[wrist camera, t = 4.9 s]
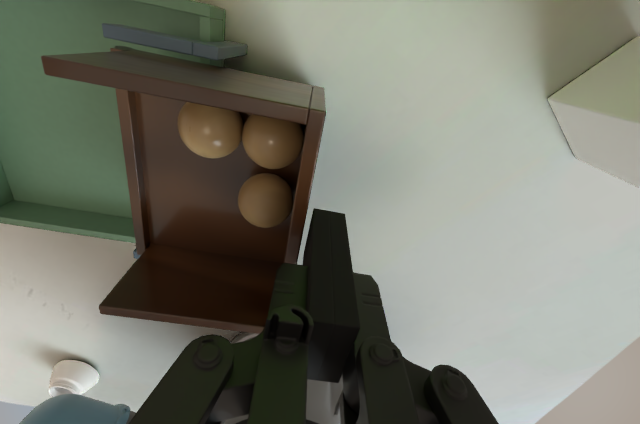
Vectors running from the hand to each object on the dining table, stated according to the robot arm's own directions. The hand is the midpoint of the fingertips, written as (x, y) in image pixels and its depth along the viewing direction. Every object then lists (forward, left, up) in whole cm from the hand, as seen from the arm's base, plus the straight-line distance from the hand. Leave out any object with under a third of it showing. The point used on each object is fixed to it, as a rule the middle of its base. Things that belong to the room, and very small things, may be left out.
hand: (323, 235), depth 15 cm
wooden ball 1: (+4, +6, -3) cm, 8 cm away
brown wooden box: (0, +6, -5) cm, 8 cm away
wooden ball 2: (+4, +3, -3) cm, 5 cm away
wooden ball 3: (0, +3, -3) cm, 4 cm away
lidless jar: (-32, +24, -11) cm, 41 cm away
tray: (0, +16, -11) cm, 20 cm away
